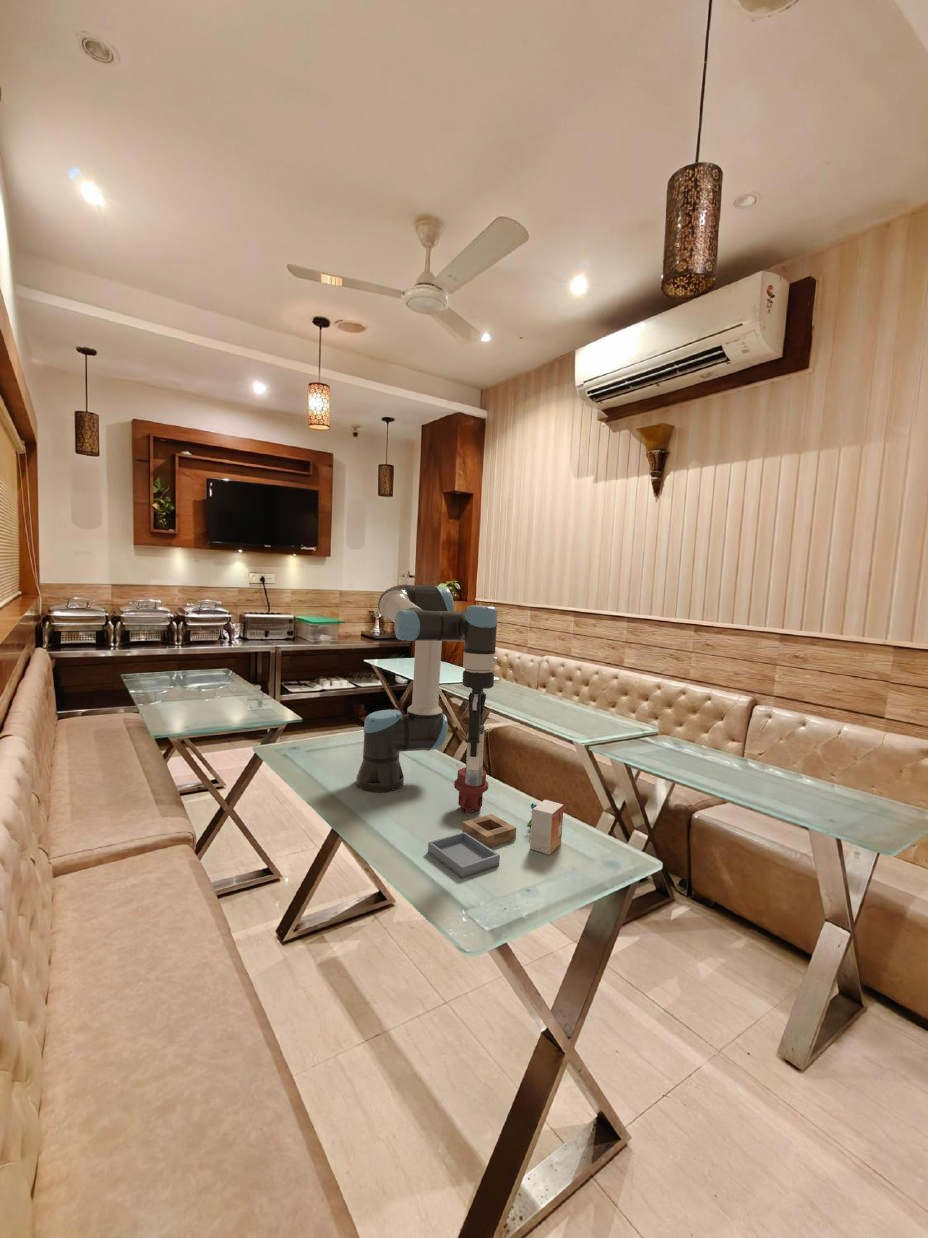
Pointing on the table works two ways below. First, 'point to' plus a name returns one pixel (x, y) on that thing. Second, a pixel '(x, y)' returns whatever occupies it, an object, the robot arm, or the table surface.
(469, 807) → the mechanical component
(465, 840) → the tray
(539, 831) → the small box
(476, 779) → the pin
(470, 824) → the socket
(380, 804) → the table surface
